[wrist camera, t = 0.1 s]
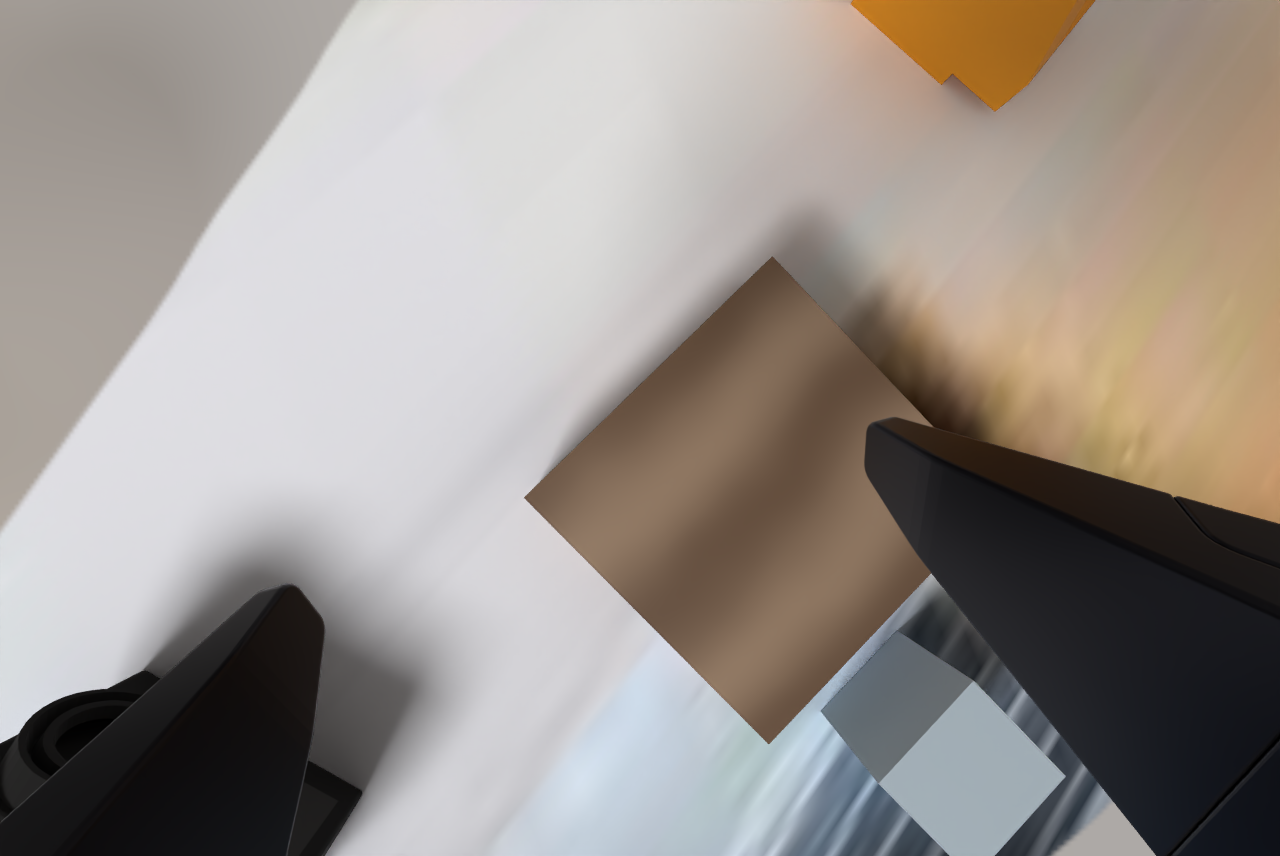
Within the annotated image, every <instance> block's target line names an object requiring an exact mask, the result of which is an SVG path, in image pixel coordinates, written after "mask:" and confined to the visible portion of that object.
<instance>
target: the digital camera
mask: <svg viewBox="0 0 1280 856" xmlns="http://www.w3.org/2000/svg"><path fill="white" fill-rule="evenodd" d="M159 680H160V679H159V678H158V677H156V676H154V675H152V674H150V673H149V672H147V671H142V672H140V673H137V674H135V675H133V676H131V677H129V678H127V679H125V680H123V681H121V682H120V683H118V684H116V685H114V686H112V687H110V688H108V689H99V690H91V691H85V692H80V693H76V694H72V695H69V696H66V697H63V698H61V699H58V700H56V701H54V702H52V703H50V704H48V705H46V706H45V707H43V708H41V709H40V710H39V711H37V712H36V713H35V714H33V715H32V717H31V718H30V719H29V720H28V721H27V722H26V723H25V725H24V726H23V728H22V729H21V731H20V733H19V734H18V735H16V736H14V737H12V738H10V739H8V740H6V741H4V742H2V743H0V822H1V821H2V820H3V819H4V818H6V817H7V816H8V815H9V814H10V813H11V812H12V811H13V810H15V809H16V808H17V807H18V806H19V805H20V804H21V803H22V802H24V801H25V800H26V799H27V798H28V797H29V796H30V795H31V794H32V793H34V792H35V791H36V790H37V789H38V788H39V787H40V786H41V785H43V784H44V783H45V782H46V781H47V780H48V779H49V778H50V777H52V776H53V775H54V774H55V773H56V772H57V771H58V770H59V769H60V768H62V767H63V766H64V765H65V764H66V763H67V762H68V761H69V760H71V759H72V758H73V757H74V756H75V755H76V754H77V753H78V752H80V751H81V750H82V749H83V748H84V747H85V746H86V745H87V744H88V743H90V742H91V741H92V740H93V739H94V738H95V737H96V736H97V735H99V734H100V733H101V732H102V731H103V730H104V729H105V728H106V727H108V726H109V725H110V724H111V723H112V722H113V721H114V720H115V719H116V718H118V717H119V716H120V715H121V714H122V713H123V712H124V711H125V710H127V709H128V708H129V707H130V706H131V705H132V704H133V703H134V702H136V701H137V700H138V699H139V698H140V697H141V696H142V695H143V694H144V693H146V692H147V691H148V690H149V689H150V688H151V687H152V686H153V685H155V684H156V683H157V682H158V681H159ZM361 795H362V791H360V790H359V789H357V788H355V787H354V786H352V785H350V784H348V783H347V782H345V781H343V780H342V779H340V778H338V777H336V776H335V775H333V774H331V773H329V772H327V771H326V770H324V769H322V768H320V767H318V766H317V765H315V764H313V763H311V762H309V761H308V762H307V767H306V771H305V776H304V780H303V785H302V789H301V794H300V798H299V803H298V807H297V812H296V816H295V821H294V825H293V830H292V834H291V839H290V843H289V848H288V852H287V856H322V855H323V856H325V854H326V853H327V851H328V849H329V848H330V846H331V845H332V843H333V841H334V840H335V838H336V836H337V835H338V833H339V832H340V830H341V828H342V827H343V825H344V824H345V822H346V820H347V819H348V817H349V816H350V814H351V812H352V811H353V809H354V807H355V806H356V804H357V803H358V801H359V799H360V798H361ZM341 826H342V827H341ZM339 829H340V830H339ZM338 831H339V832H338ZM337 832H338V833H337ZM336 834H337V835H336ZM334 837H335V838H334ZM332 840H333V841H332ZM330 843H331V844H330ZM328 846H329V847H328ZM326 849H327V850H326ZM324 852H325V853H324Z"/></svg>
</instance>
